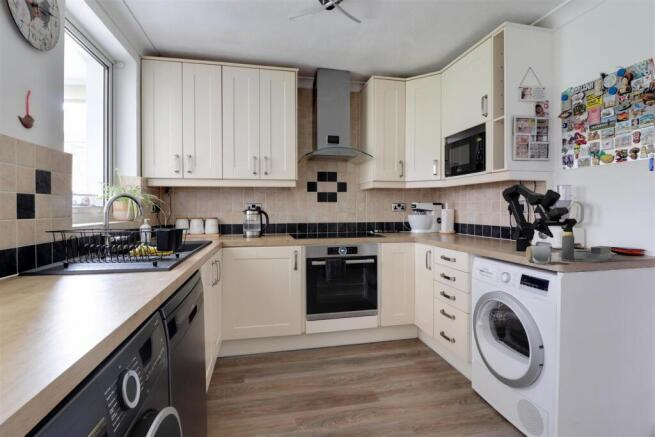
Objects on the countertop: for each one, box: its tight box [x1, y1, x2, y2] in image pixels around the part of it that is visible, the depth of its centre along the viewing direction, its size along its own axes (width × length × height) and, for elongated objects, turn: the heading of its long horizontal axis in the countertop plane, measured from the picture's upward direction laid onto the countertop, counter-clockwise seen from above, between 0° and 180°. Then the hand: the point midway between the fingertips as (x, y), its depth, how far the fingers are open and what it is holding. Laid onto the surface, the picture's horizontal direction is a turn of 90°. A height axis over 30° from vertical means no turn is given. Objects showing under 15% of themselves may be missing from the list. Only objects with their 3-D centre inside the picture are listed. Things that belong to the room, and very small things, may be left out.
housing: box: [558, 245, 612, 262], centre depth 149 cm, size 16×12×6 cm
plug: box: [560, 231, 575, 263], centre depth 141 cm, size 5×5×13 cm
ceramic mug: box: [525, 245, 553, 266], centre depth 136 cm, size 11×8×8 cm
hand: (562, 237), depth 144 cm, fingers open, 9 cm apart
